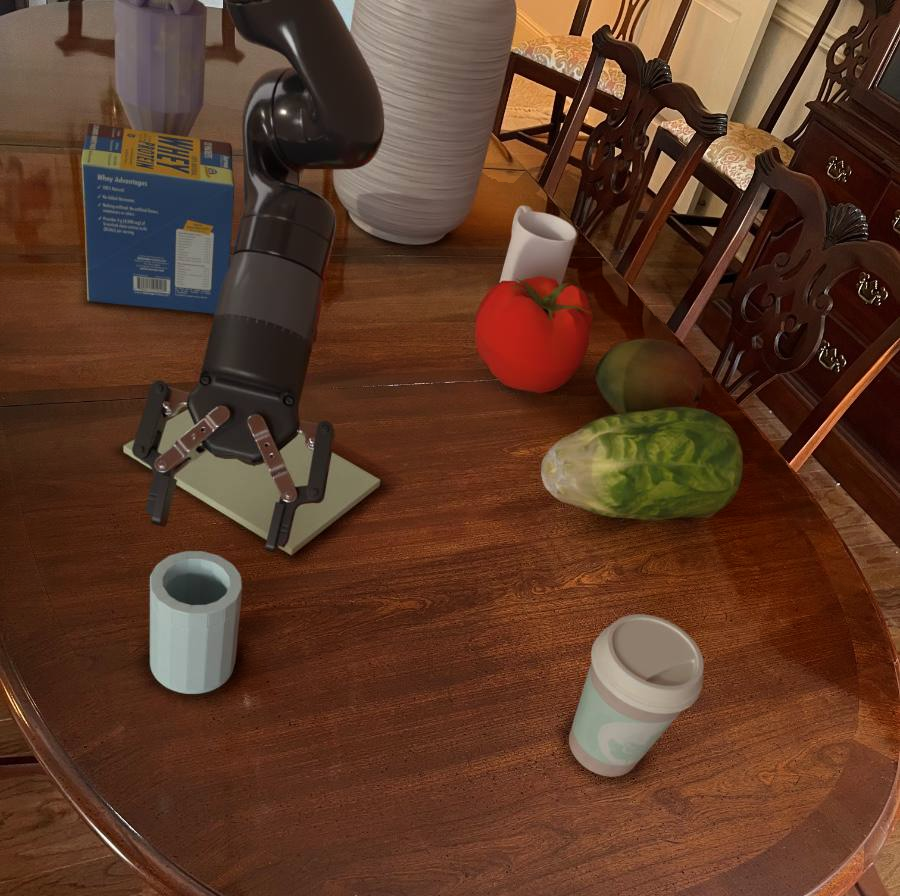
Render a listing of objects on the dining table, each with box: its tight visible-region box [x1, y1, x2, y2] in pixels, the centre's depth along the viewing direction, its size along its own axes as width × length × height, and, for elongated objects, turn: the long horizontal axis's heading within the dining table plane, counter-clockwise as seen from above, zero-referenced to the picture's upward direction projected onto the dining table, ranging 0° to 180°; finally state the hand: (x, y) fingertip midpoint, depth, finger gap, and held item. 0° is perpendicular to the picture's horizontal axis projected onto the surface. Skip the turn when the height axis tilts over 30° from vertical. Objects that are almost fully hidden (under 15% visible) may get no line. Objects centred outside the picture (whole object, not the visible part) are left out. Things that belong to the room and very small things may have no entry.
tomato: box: [474, 276, 593, 394], centre depth 114 cm, size 13×14×12 cm
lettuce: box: [540, 407, 744, 522], centre depth 100 cm, size 12×21×11 cm, turn 109°
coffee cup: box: [568, 613, 705, 778], centre depth 76 cm, size 8×8×12 cm
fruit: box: [594, 338, 703, 414], centre depth 113 cm, size 12×12×10 cm
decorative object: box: [113, 0, 208, 137], centre depth 119 cm, size 10×10×30 cm
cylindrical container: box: [149, 550, 243, 695], centre depth 74 cm, size 6×6×9 cm
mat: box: [123, 409, 381, 556], centre depth 95 cm, size 20×14×1 cm
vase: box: [332, 0, 518, 246], centre depth 128 cm, size 20×20×34 cm
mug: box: [499, 205, 578, 286], centre depth 129 cm, size 12×8×10 cm, turn 19°
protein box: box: [80, 122, 236, 315], centre depth 109 cm, size 10×15×16 cm
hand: (214, 538), depth 74 cm, fingers open, 8 cm apart
